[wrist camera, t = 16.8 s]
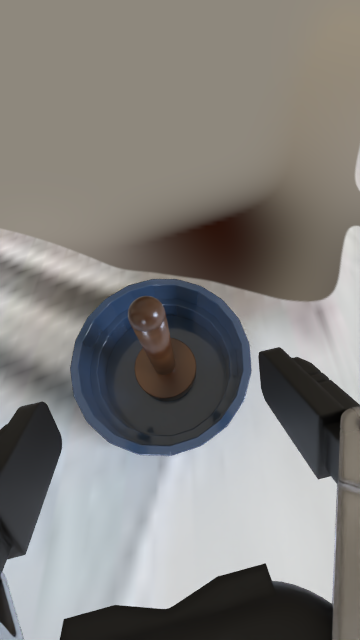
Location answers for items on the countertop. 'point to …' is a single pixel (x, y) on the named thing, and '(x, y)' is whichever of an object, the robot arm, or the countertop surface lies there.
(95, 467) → the countertop surface
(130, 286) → the bowl
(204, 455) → the countertop surface
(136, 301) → the brown stamp
